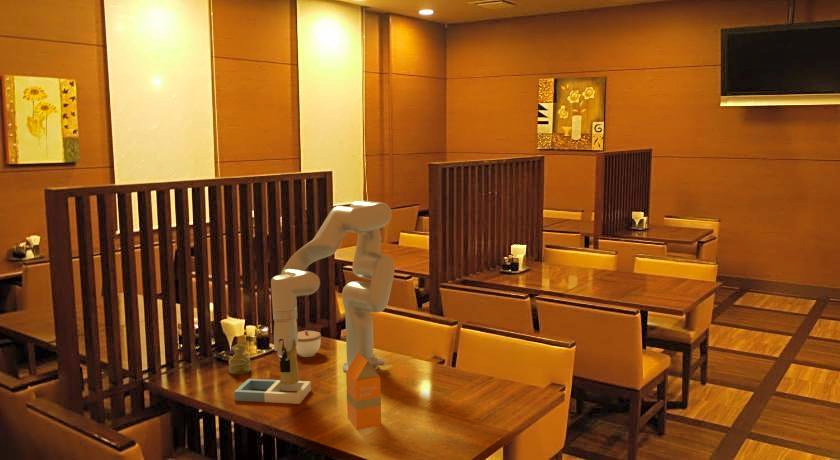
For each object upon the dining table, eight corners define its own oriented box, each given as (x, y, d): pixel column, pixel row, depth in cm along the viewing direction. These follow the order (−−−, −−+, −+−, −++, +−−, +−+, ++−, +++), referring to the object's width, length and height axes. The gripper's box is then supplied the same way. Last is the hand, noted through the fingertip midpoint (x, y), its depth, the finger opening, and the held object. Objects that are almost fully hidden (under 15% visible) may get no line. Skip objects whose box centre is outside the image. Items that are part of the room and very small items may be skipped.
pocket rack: (310, 390, 231) (310, 381, 231) (299, 403, 220) (299, 394, 220) (248, 387, 235) (248, 378, 234) (234, 400, 223) (234, 391, 223)
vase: (295, 385, 223) (292, 342, 220) (277, 384, 224) (274, 341, 222) (302, 378, 229) (299, 336, 226) (284, 377, 230) (281, 335, 228)
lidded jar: (308, 360, 260) (307, 336, 259) (287, 355, 266) (286, 331, 265) (327, 352, 269) (326, 329, 268) (306, 348, 275) (305, 325, 274)
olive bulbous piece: (255, 370, 251) (253, 343, 250) (239, 376, 245) (237, 348, 243) (240, 366, 255) (239, 340, 254) (224, 372, 249) (223, 345, 247)
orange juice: (356, 429, 201) (354, 362, 198) (347, 418, 209) (345, 353, 206) (382, 424, 204) (380, 358, 201) (371, 413, 212) (370, 349, 209)
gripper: (283, 306, 232) (286, 358, 235) (263, 321, 215) (267, 378, 218) (305, 306, 230) (308, 359, 233) (287, 322, 214) (291, 378, 217)
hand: (288, 367), depth 226 cm, fingers closed on vase, 5 cm apart
